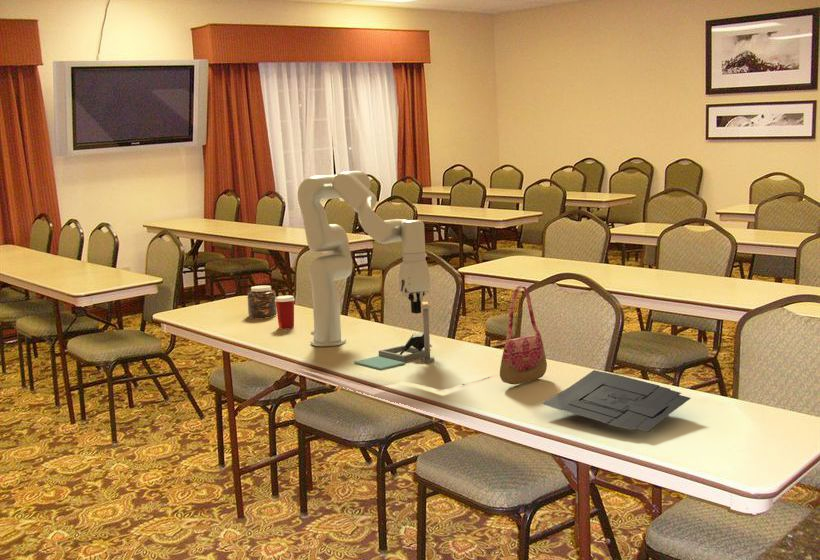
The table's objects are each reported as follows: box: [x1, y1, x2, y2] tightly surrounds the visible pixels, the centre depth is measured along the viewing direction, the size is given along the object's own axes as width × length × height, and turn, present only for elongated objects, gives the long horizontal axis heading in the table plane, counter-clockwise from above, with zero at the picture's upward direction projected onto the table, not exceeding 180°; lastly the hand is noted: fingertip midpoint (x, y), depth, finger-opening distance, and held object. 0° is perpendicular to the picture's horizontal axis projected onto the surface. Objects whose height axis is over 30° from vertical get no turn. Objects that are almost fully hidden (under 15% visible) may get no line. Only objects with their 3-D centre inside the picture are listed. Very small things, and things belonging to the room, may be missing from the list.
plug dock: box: [378, 308, 435, 364], centre depth 286 cm, size 20×11×18 cm, turn 41°
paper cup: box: [275, 295, 295, 330], centre depth 340 cm, size 8×8×14 cm
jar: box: [247, 285, 277, 319], centre depth 363 cm, size 12×12×15 cm
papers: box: [541, 369, 692, 432], centre depth 221 cm, size 24×30×4 cm
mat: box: [353, 355, 406, 371], centre depth 281 cm, size 14×10×1 cm
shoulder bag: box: [499, 285, 548, 385], centre depth 250 cm, size 17×3×28 cm, turn 128°
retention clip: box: [421, 301, 431, 310], centre depth 285 cm, size 15×3×5 cm, turn 0°
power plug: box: [399, 331, 433, 355], centre depth 288 cm, size 6×8×12 cm
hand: (416, 312), depth 287 cm, fingers closed
